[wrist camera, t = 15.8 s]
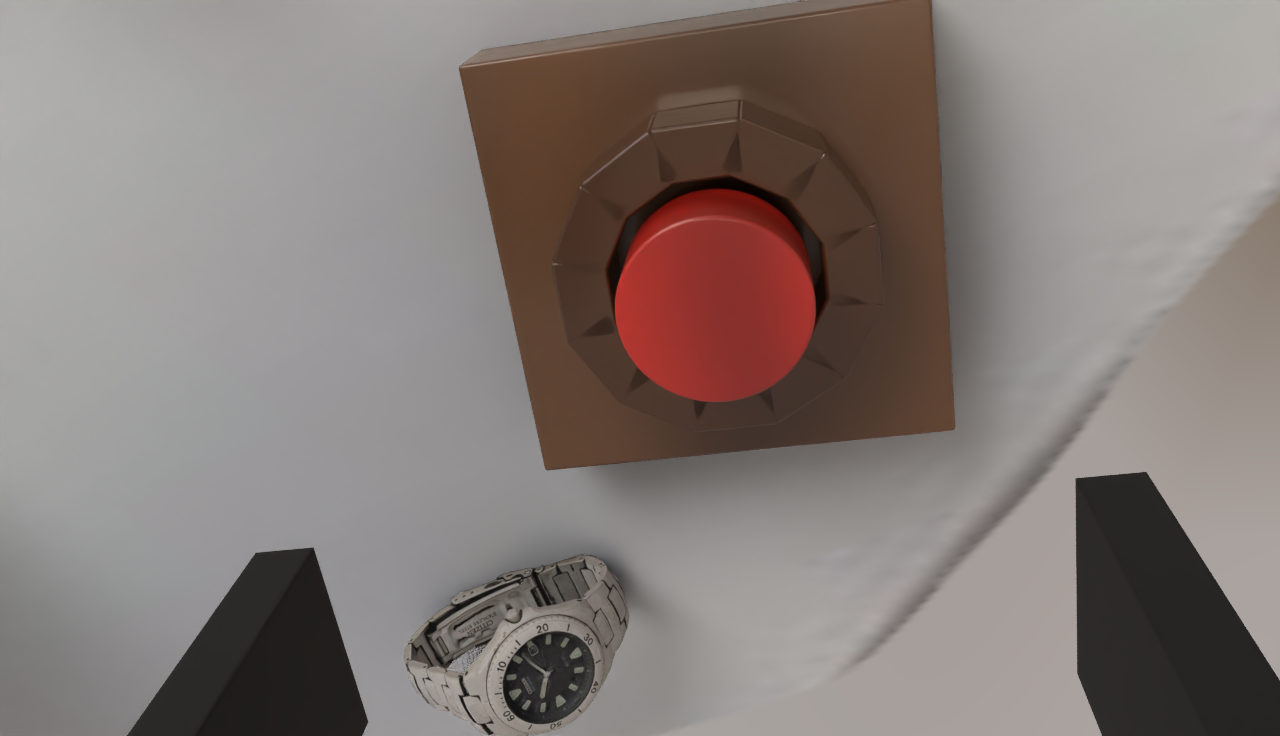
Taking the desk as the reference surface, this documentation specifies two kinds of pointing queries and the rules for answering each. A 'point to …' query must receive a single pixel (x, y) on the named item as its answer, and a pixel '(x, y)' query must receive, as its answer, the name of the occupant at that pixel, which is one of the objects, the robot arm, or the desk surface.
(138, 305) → the desk surface
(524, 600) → the wristwatch
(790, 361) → the button
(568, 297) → the switch block
